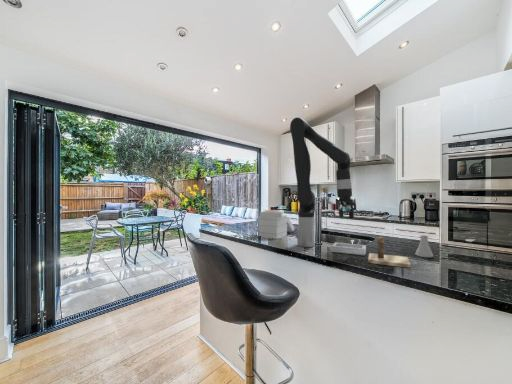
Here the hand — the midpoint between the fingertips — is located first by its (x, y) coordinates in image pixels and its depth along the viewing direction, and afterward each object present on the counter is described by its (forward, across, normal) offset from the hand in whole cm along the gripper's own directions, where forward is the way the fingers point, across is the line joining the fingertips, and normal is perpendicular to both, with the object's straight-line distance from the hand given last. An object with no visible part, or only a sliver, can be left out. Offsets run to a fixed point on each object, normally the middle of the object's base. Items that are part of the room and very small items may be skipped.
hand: (346, 217), depth 128 cm
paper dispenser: (+15, -54, -22) cm, 60 cm away
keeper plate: (+19, +22, +4) cm, 29 cm away
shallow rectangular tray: (+18, +2, -1) cm, 18 cm away
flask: (+20, +20, +28) cm, 40 cm away
